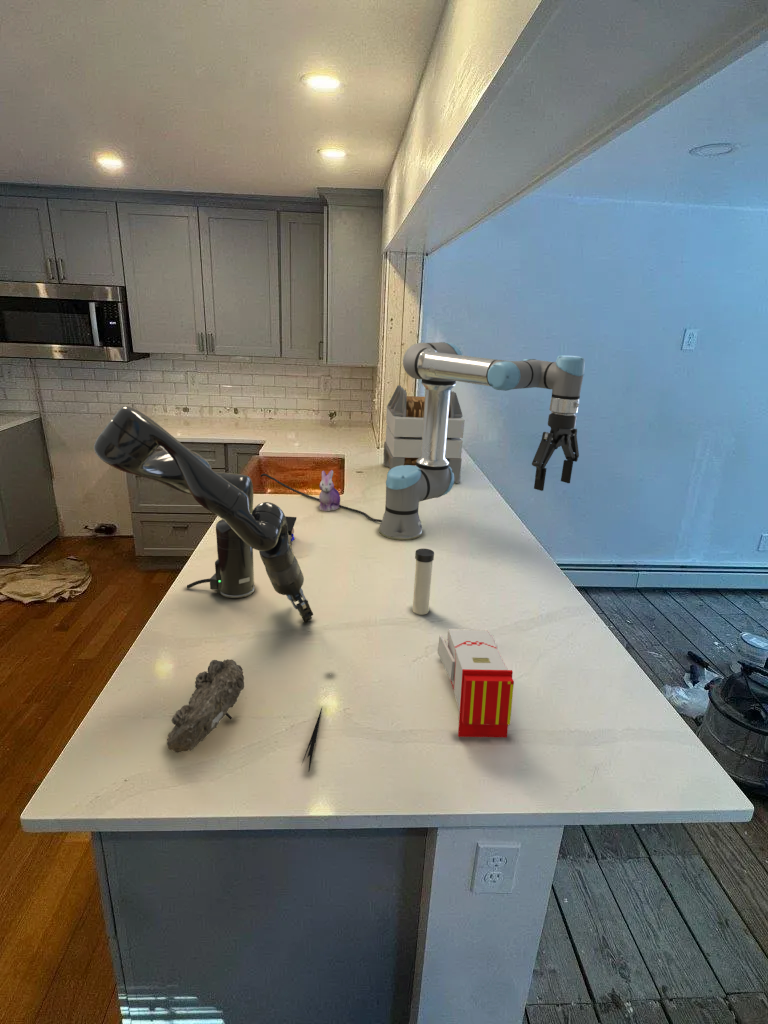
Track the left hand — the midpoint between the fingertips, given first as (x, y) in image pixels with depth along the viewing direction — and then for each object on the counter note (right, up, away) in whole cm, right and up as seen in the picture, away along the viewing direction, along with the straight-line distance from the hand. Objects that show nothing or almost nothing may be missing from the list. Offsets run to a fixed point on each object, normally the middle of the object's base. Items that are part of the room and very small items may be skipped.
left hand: (299, 608), depth 145 cm
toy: (+39, -13, -26) cm, 49 cm away
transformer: (+39, +43, +130) cm, 142 cm away
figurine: (0, +26, +77) cm, 82 cm away
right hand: (+71, +32, +20) cm, 80 cm away
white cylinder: (+31, -1, +5) cm, 32 cm away
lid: (+32, +14, -1) cm, 35 cm away
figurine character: (-11, +14, +42) cm, 46 cm away
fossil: (-11, -14, -37) cm, 41 cm away
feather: (+9, -15, -36) cm, 40 cm away
